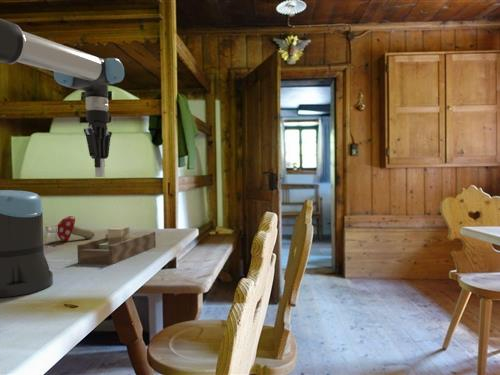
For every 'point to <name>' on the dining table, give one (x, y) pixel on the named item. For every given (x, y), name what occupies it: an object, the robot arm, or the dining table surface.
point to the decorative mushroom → (72, 229)
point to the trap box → (114, 249)
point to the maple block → (118, 235)
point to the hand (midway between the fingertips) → (100, 176)
